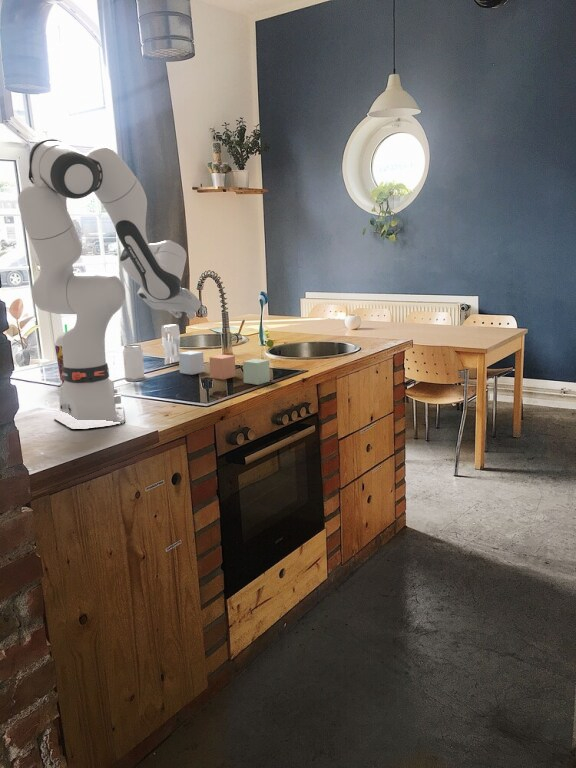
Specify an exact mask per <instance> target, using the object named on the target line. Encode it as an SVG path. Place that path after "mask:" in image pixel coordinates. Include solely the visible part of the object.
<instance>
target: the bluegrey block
mask: <svg viewBox="0 0 576 768" xmlns="http://www.w3.org/2000/svg"><path fill="white" fill-rule="evenodd" d="M204 361H205V360H204V352H203V351H196V350H195V351H194V350H189V351H188V350H187V351H183V352H179V362H178V366H179V367H178V368H179V373H180V374H185V375H191V376H192V375H197V374H199V373H200V374H201V373H204V372H205V365H204V363H205V362H204Z"/></svg>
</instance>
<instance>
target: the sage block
mask: <svg viewBox="0 0 576 768" xmlns="http://www.w3.org/2000/svg"><path fill="white" fill-rule="evenodd" d="M242 368H243V370H242V371H243V383H244V384H250V385H251V384H252V385H262V384H266V383H269V382H271V381H270V380H271V379H270V378H271V375H270V360H269V359H263V358H262V359H261V358H252V359H251V358H250V359H248V360H244V361H242Z"/></svg>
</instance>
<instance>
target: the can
mask: <svg viewBox="0 0 576 768" xmlns="http://www.w3.org/2000/svg"><path fill="white" fill-rule="evenodd" d="M122 353H123V355H122V357H123V368H124V369H123V370H124V378H125V381H126V382H127V383H138V382H140V380H134V379H141V378H145V367H144V353H143V349H142V346H141V345H140V344H128V345H123V350H122Z"/></svg>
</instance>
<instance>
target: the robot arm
mask: <svg viewBox="0 0 576 768" xmlns="http://www.w3.org/2000/svg"><path fill="white" fill-rule="evenodd" d="M28 165H29V169H28V180H29V181H30V182H31V183H32V184H29V185H28V186H26V187H24V188H23V189H22V190H21V191H20V192H19V195H18V197H17V205H18V208H19V213H20V216H21V219H22V223H23V226H24V228H25V230H26V233H27V236H28V237H29V240H30V242H31V244H32V246H33V248H34V251H35V254H36V257H37V258H38V261H39V267H40V269H39V275H38V277H37V278H36V279H35V281H34V283H33V285H32V288H31V296H32V301H33V302H34V304H35V306H36V307H37V308H38V309H39V310H40V311H43V312H47V313H51V314H55V315H76V320H75V321H76V322H75V325H74V327H73V328H71V329H69V330H67V333H65V332H64V333H65V335H64V336H63V338H62V353H63V363H64V366H63V367H62V370H63V371H62V374H63V379H64V383H62V384H61V386H59V387H58V403H59V412H60V411H62V412H65V413H68V414H69V415H71V416H72V417H74V418H75V419H77V420H106V421H113V422H120V423H122V424H125V423H126V417H125V408H124V406H120V404H121V403H122V397H121V395H119V394H118V388H115V384H114V382H113V380H111V378H110V373H109V370H110V369H109V366H108V363H107V362H106V361H107V360H106V331H107V327H108V326H109V322H110V320H111V319H112V317H113V316H114V315H115V314H117V312H118V311H119V310H120V309H121V308H122V307H123V305H124V303H125V299H126V290H125V287H124V284H123V282H122V281H121V279H120V278H119V277H118V276H116V275H113V274H110V273H109V274H108V273H104V272H77V271H76V270H75V269H74V266H73V265H75V263H76V262H78V261H79V259H80V258H81V255H82V253H83V245H82V242H81V240H80V237H79V235H78V232H77V230H76V227H75V225H74V222H73V219H72V218H71V215H70V212H69V211H68V207H67V205H68V204H67V198H68V199H74V200H75V199H77V200H78V199H83V198H85V197H87V196H89V195H90V194H91V193H94V195H95V196H96V198H97V199H98V200H99V202H100V203H101V204H102V206H103V207H104V209H105V211H106V213H107V214H108V216H109V218H110V220H111V222H112V224H113V226H114V229H115V233H116V235H117V237H118V239H119V242H120V244H121V245H122V248H124V249H123V250H122V252H121V254H120V257H119V263H120V264H121V266H122V268H123V270H124V271H125V272H126V273H127V275H128V276H129V277H130V278H131V279H132V280H133V282H135V283H137V284H138V286H140V287H139V289H138V291H137V292H136V295H137V297H139V298H141V299H142V300H143V301H144V303H146V304H147V306H149V307H150V308H152V309H153V310H156V311H158V310H159V311H167V312H168V313H170V314H172V315H173V316H174V317H175V318H178V319H179V318H182V316H183V312H184V313H186V317H187V318H188V319H189V320H191V319H192V320H193V319H194V318H195V317H196V313H198V311H199V310H200V308H201V305H202V301H200V299H199V298H198V297H197V296H196V295H195V294H194V293H193V292H192V291H191V290H189V289H188V288H186V287H184V288H183V287H181V286H182V284H181V283H182V279H183V274H184V272H185V271H184V270H185V266H186V261H187V257H188V253H187V250H186V249H185V248H184V246H183V245H182V244H180V243H179V242H177V241H175V240H172V239H164V240H161V241H159V242H155V243H149V241H148V237H147V231H146V230H147V229H146V225H147V224H146V223H147V221H146V220H147V219H146V218H147V209H148V200H147V196H146V193H145V190H144V188H143V185H142V184H141V183H140V181H139V179H138V178H137V177H136V175H135V174H134V172H133V171H132V170H131V168H130V167H129V166H128V164H127V163H126V162H125V161H124V159H122V157H120V155H119V154H118V153H116V152H115V151H114V149H112V148H111V147H108V146H104V145H103V146H97V147H94V148H92V149H91V150H89V151H88V152H87V153H82V152H80V151H79V150H77V149H76V148H75V147H73V146H71V145H69V144H67V143H64V142H63V141H61V140H58V139H53V138H49V139H48V138H47V139H42V140H39V141H37V142H36V143H35V144H34V145H33V146H32V148H31V150H30V153H29V159H28ZM116 394H118V395H116ZM124 422H125V423H124Z"/></svg>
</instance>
